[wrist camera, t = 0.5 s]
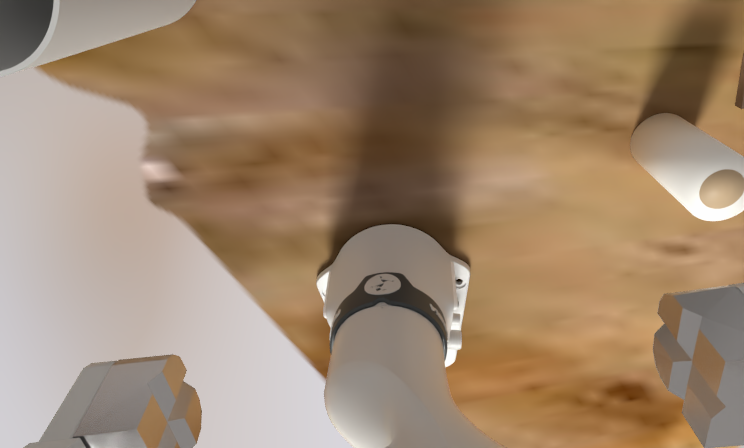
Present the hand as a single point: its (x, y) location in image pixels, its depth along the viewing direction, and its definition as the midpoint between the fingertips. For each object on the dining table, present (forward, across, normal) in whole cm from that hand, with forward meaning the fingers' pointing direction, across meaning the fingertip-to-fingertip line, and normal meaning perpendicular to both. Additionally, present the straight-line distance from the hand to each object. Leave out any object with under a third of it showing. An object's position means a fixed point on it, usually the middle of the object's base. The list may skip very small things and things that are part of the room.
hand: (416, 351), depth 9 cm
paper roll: (+47, +28, -20) cm, 58 cm away
